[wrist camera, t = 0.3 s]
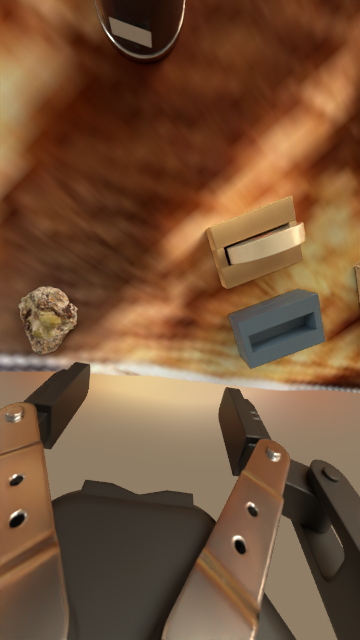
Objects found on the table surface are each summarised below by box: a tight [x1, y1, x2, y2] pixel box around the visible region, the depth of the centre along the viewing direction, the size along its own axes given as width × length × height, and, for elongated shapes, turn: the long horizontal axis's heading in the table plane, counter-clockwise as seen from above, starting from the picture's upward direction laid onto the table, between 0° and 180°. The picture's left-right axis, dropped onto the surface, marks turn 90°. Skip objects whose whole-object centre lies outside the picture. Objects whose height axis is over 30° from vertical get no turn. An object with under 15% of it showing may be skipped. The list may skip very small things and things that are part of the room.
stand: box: [228, 289, 325, 369], centre depth 32 cm, size 8×12×4 cm, turn 110°
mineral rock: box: [18, 286, 77, 355], centre depth 30 cm, size 11×4×8 cm
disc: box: [227, 222, 306, 264], centre depth 26 cm, size 2×9×9 cm, turn 111°
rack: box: [205, 196, 303, 289], centre depth 29 cm, size 9×11×3 cm
